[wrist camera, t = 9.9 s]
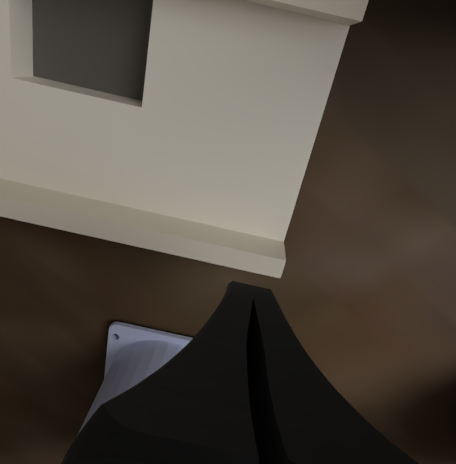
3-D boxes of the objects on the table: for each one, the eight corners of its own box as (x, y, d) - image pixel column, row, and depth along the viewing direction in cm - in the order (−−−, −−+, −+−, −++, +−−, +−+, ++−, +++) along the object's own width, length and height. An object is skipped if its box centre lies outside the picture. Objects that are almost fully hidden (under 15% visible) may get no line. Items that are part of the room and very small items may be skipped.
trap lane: (277, 241, 22) (280, 278, 18) (-211, 132, 21) (-307, 148, 18) (348, 3, 17) (372, -11, 13) (-292, -148, 16) (-449, -206, 13)
